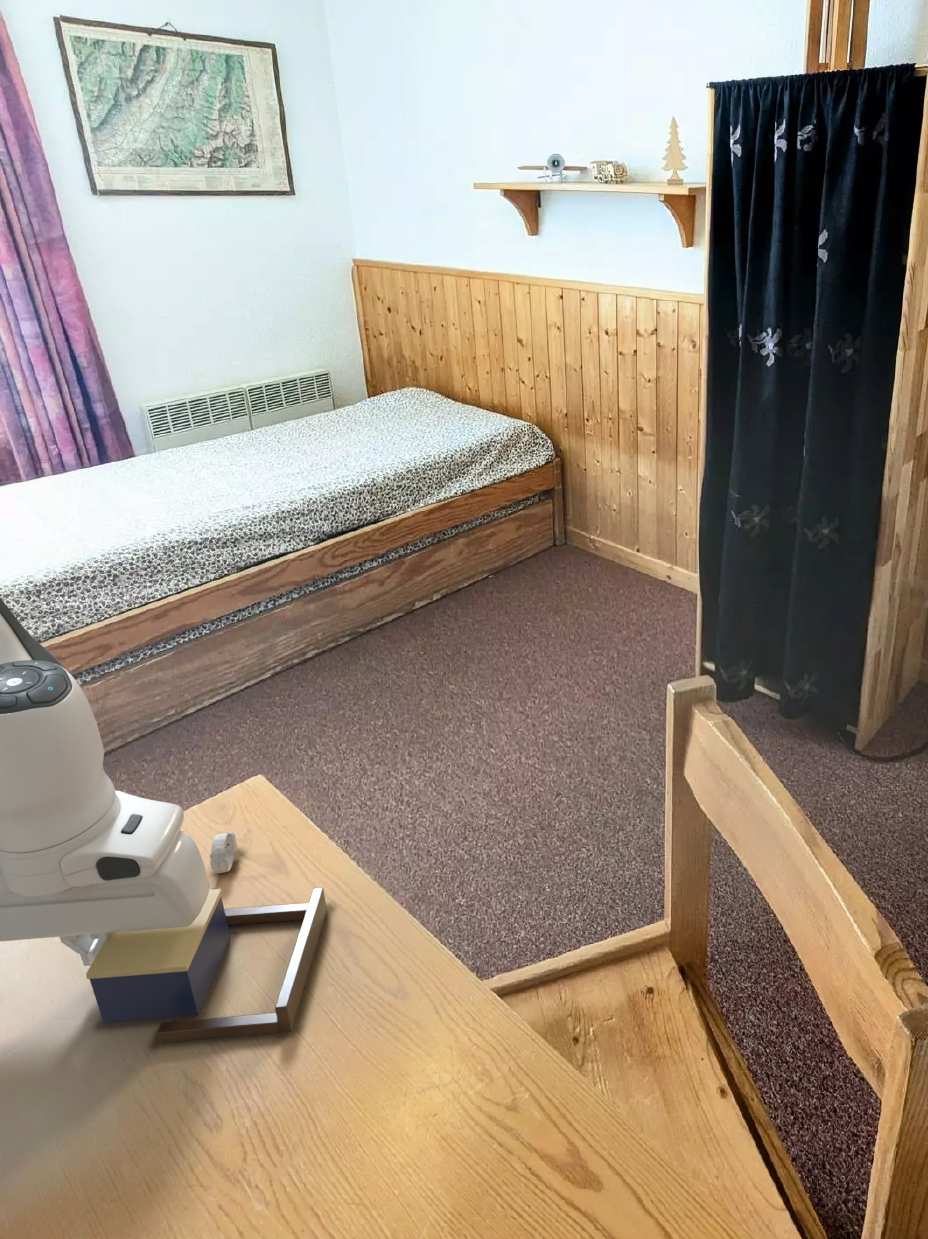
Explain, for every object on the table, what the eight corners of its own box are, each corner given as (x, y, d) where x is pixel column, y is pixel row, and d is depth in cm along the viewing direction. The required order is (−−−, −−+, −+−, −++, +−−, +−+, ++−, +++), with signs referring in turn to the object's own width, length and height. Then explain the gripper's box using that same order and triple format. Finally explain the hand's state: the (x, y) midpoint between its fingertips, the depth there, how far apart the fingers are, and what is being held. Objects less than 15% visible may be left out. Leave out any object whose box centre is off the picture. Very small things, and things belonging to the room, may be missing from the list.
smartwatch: (232, 879, 87) (226, 849, 85) (210, 882, 86) (203, 852, 85) (239, 853, 90) (233, 824, 89) (218, 856, 90) (212, 827, 88)
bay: (158, 1043, 70) (151, 1018, 69) (214, 918, 82) (208, 895, 81) (291, 1031, 72) (286, 1006, 70) (327, 909, 83) (323, 887, 82)
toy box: (101, 1024, 72) (85, 974, 70) (144, 942, 80) (131, 894, 78) (199, 1016, 73) (186, 966, 71) (232, 936, 80) (221, 888, 78)
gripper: (-96, 879, 66) (-46, 1001, 71) (171, 859, 68) (201, 980, 73) (-43, 820, 72) (-1, 937, 77) (200, 804, 74) (227, 919, 79)
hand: (99, 958), depth 75 cm, fingers closed
